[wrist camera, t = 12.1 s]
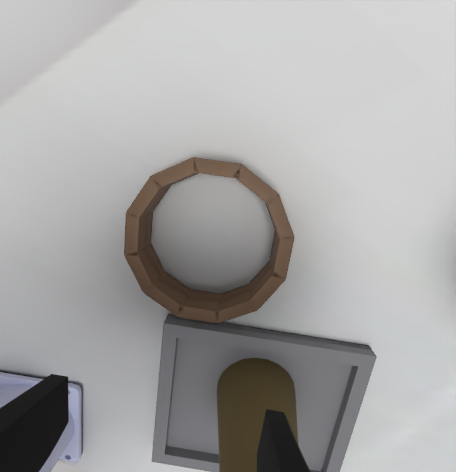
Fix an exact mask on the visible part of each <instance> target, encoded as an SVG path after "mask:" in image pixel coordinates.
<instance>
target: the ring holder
mask: <svg viewBox="0 0 456 472" xmlns="http://www.w3.org/2000/svg"><path fill="white" fill-rule="evenodd" d="M198 173H203V174H210V175H217V176H224V177H231V178H236V179H237V180H238V181H240V182H241V183H242V184H244V185H245V186H246V187H247V188H249V189H250V190H251V191H252V192H254V193H255V194H256V195H257V196H259V197H260V198H261V199H262V200H264V201H265V203H266V205H267V208H268V211H269V213H270V216H271V219H272V221H273V224H274V227H275V235H274V240H273V246H272V251H271V256H270V261H269V262H268V263H267V264H266V265H265V266H264V268H263V269H262V270H261V271H260V272H259V273H258V274H257V276H256V277H255V278H254V279H253V280H252V281H251V282H250V284H247V285H244V286H242V287H239V288H236V289H233V290H230V291H227V292H224V293H222V294H217V293H210V292H204V291H197V290H191V289H188V288H187V287H186V286H184V285H183V284H182V283H180V282H179V281H177V280H176V279H175V278H173V277H172V276H171V275H169V274H168V273H166V272H165V271H164V269H163V267H162V265H161V263H160V261H159V259H158V257H157V255H156V253H155V251H154V249H153V247H152V244H151V231H152V216H153V210H154V209H155V207H156V206H157V205H158V203H159V202H160V200H161V199H162V198H163V196H164V195H165V193H166V192H167V190H168V189H169V188H170V186H171V185H172V184H175V183H177V182H179V181H182V180H184V179H186V178H189V177H191V176H193V175H196V174H198ZM293 242H294V235H293V232H292V229H291V226H290V224H289V221H288V218H287V215H286V213H285V210H284V207H283V204H282V202H281V199H280V196H279V194H278V193H277V192H276V191H274V190H273V189H272V188H271V187H269V186H268V185H267V184H266V183H264V182H263V181H262V180H261V179H260V178H258V177H257V176H256V175H255V174H253V173H252V172H251V171H250V170H248V169H247V168H246V167H245V166H243V165H241V164H238V163H231V162H224V161H216V160H209V159H202V158H195V157H194V158H191V159H188V160H186V161H184V162H182V163H179V164H177V165H175V166H172V167H170V168H168V169H165V170H163V171H161V172H159V173H156V174H154V175H152V176H150V178H149V179H148V181H147V182H146V184H145V185H144V187H143V188H142V190H141V191H140V193H139V194H138V196H137V197H136V198H135V200H134V201H133V203H132V204H131V206H130V207H129V209H128V210H127V213H126V225H125V248H124V255H125V258H126V260H127V262H128V264H129V266H130V267H131V269H132V271H133V273H134V275H135V277H136V279H137V281H138V283H139V285H140V287H141V289H142V291H143V292H144V293H145V294H146V295H147V296H149V297H150V298H152V299H153V300H154V301H156V302H157V303H159V304H160V305H161V306H163V307H164V308H166V309H167V310H169V311H170V312H171V313H173V314H174V315H176V316H178V317H182V318H188V319H194V320H201V321H207V322H214V323H218V322H219V323H221V322H224V321H227V320H230V319H233V318H236V317H239V316H242V315H245V314H248V313H251V312H254V311H257V309H259V308H260V307H261V306H262V305H263V304H264V303H265V302H266V301H267V299H268V298H269V297H270V296H271V295H272V294H273V293H274V292H275V291H276V290H277V289H278V287H279V286H280V285H281V284H282V283H283V282H284V281H285V279H286V276H287V271H288V266H289V261H290V256H291V252H292V247H293Z"/></svg>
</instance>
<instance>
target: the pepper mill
mask: <svg viewBox="0 0 456 472" xmlns="http://www.w3.org/2000/svg"><path fill="white" fill-rule="evenodd" d="M266 409H268V410H274V411H280V412H284V413H285V415H286V417H287V419H288V422H289V425H290V427H291V429H292V432H293V434H294V437H295V439H296V441H297V444H298V429H297V412H296V394H295V387H294V381H293V380H292V378H291V376H290V375H289V373H288V372H287V371H286V370H285V369H284V368H283V367H281V366H280V365H279V364H277V363H275V362H272V361H270V360H268V359H261V358H249V359H242V360H240V361H237V362H235V363H233V364H231V365H230V366H229V367H228V368H226V369H225V370H224V371H223V373H222V374H221V376H220V378H219V380H218V384H217V415H218V443H219V471H220V472H257V450H258V446H259V441H260V436H261V432H262V427H263V422H264V418H265V413H266Z"/></svg>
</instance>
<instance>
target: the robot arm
mask: <svg viewBox="0 0 456 472" xmlns="http://www.w3.org/2000/svg"><path fill="white" fill-rule="evenodd" d="M81 409H82V390H81V388H80V386H78V385H76V384H70V383H68V377H65V376H59V375H53V374H51V375H50V376H48V377H47V378H45V379H39V378H33V377H27V376H21V375H15V374H9V373H2V372H0V472H51V470H52V469H53V467H54V466H55V464H56V463H57V461H58V460H64V461H70V462H78V461H79V459H80V458H81ZM257 472H311V471H310V469H309V467H308V465H307V463H306V461H305V459H304V457H303V455H302V452H301V450H300V448H299V446H298V444H297V441H296V439H295V437H294V434H293V432H292V429H291V427H290V425H289V422H288V419H287V417H286V415H285V413H284V412H280V411H274V410H268V409H266V413H265V418H264V422H263V427H262V432H261V436H260V441H259V446H258V450H257Z"/></svg>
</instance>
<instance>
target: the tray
mask: <svg viewBox="0 0 456 472" xmlns="http://www.w3.org/2000/svg"><path fill="white" fill-rule="evenodd" d="M249 358H261V359H268V360H270V361H272V362H275V363H277V364H279V365H280V366H281V367H283V368H284V369H285V370H286V371H287V372H288V373H289V375H290V376H291V378H292V380H293V381H294V387H295V394H296V412H297V429H298V446H299V448H300V450H301V452H302V455H303V457H304V459H305V461H306V463H307V465H308V467H309V469H310V471H311V472H340V469H341V466H342V463H343V460H344V457H345V453H346V450H347V447H348V444H349V441H350V438H351V435H352V432H353V429H354V425H355V422H356V419H357V416H358V413H359V410H360V407H361V404H362V401H363V397H364V394H365V391H366V388H367V385H368V382H369V379H370V376H371V372H372V369H373V366H374V363H375V360H376V355H375V354H374V352H373V351H372V349H371V348H370V346H368V345H361V344H355V343H348V342H342V341H336V340H329V339H323V338H316V337H310V336H303V335H297V334H291V333H284V332H278V331H271V330H265V329H259V328H252V327H246V326H239V325H233V324H226V323H219V322H218V323H214V322H207V321H201V320H194V319H188V318H182V317H178V316H175V315H169V314H168V316H167V318H166V320H165V322H164V326H163V338H162V349H161V361H160V372H159V384H158V395H157V406H156V418H155V429H154V441H153V452H152V462H157V463H163V464H169V465H175V466H181V467H187V468H193V469H199V470H204V471H210V472H220V471H219V443H218V415H217V384H218V380H219V378H220V376H221V374H222V373H223V371H224V370H225V369H226V368H228V367H229V366H230V365H231V364H233V363H235V362H237V361H240V360H242V359H249Z"/></svg>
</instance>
